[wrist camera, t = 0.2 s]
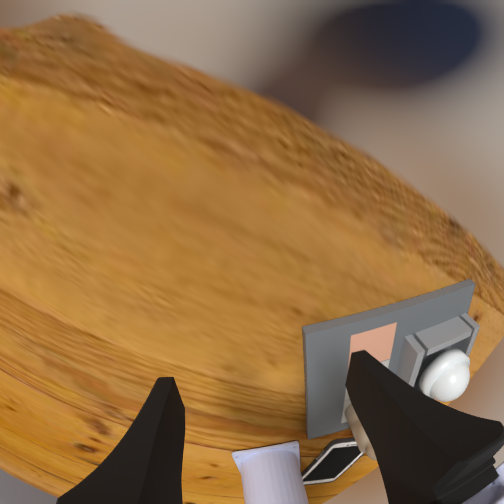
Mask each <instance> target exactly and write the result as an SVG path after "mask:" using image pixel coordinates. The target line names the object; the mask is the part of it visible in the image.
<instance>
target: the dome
mask: <svg viewBox="0 0 504 504" xmlns="http://www.w3.org/2000/svg"><path fill="white" fill-rule="evenodd" d="M469 365H470V360H469V358H468V357H467V356H466V355H465V354H464V352H463V351H462V350H461V349H460V348H451V349H449V350H447V351H445V352H443V353H442V354H440V355H439V356H438V357H437V358H436V359H434V360H433V361H432V362H431V363H430V364H429V366H428V367H427V368H426V369H425V371H424V372H423V374H422V375H421V377H420V380H419V387H420V389H421V390H422V392H423V393H424V394H425V395H427V396H429V397H430V398H432V399H436V400H439V401H443V402H447V401H451V400H454V399H456V398H458V397H459V396H460V395H461V394H462V393H463V392H464V390H465V389H466V387H467V385H468V383H469V377H470V373H469Z"/></svg>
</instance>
